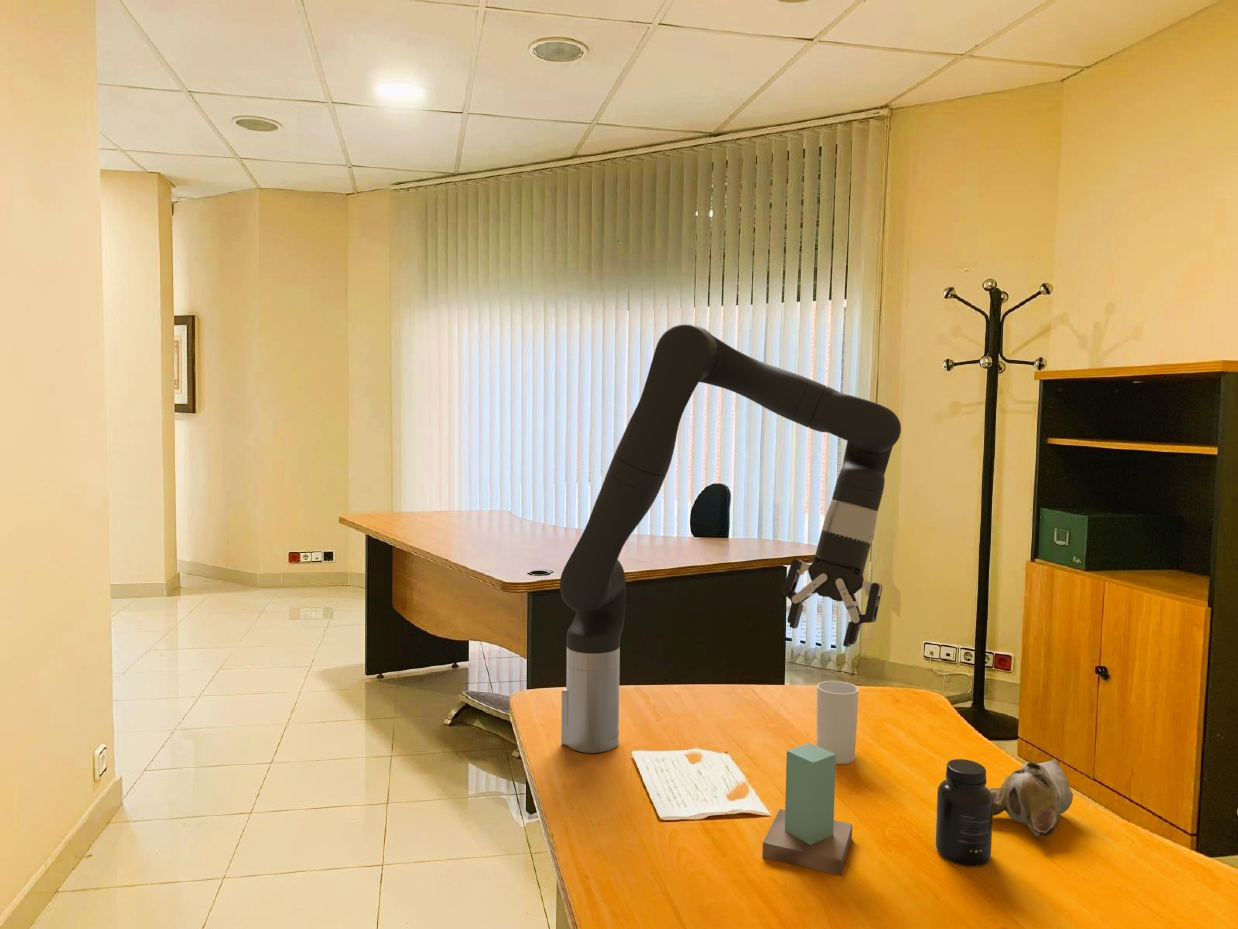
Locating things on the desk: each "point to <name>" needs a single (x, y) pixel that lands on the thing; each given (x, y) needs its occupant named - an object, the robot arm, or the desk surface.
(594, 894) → the desk surface
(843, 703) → the mug
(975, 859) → the supplement bottle
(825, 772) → the pillar
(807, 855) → the base
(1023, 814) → the ceramic sculpture
